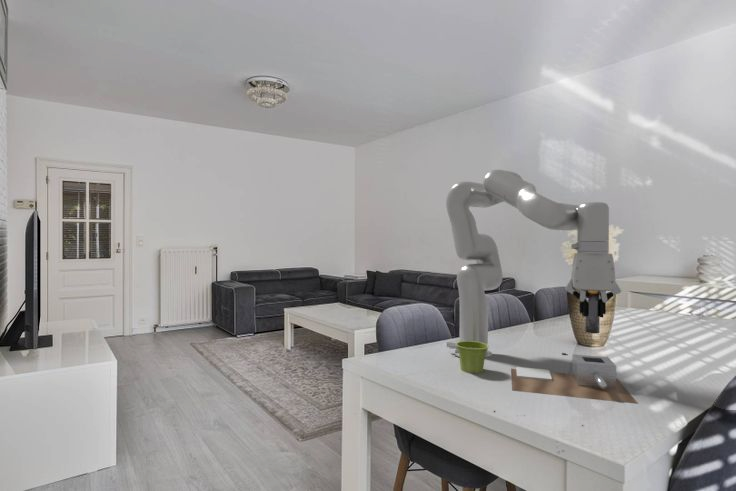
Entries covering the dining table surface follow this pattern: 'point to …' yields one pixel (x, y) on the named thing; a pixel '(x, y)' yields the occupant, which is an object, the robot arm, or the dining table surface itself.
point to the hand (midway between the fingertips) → (592, 315)
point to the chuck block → (594, 371)
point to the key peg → (592, 311)
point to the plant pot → (472, 355)
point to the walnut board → (570, 388)
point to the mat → (533, 373)
